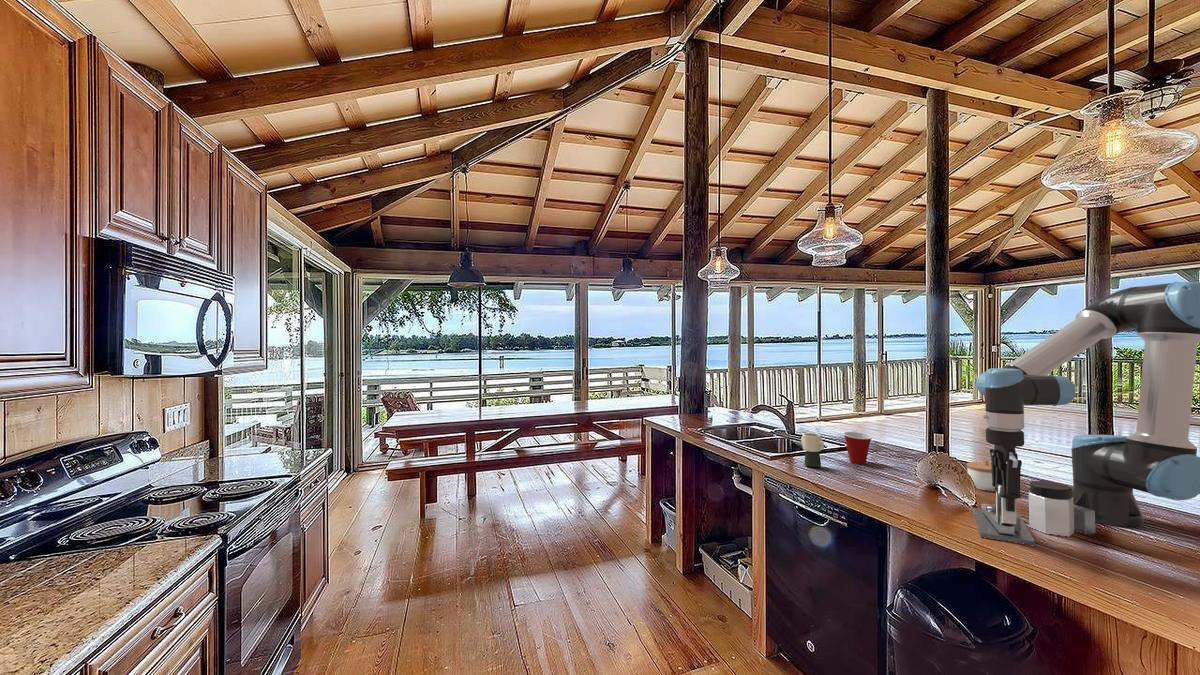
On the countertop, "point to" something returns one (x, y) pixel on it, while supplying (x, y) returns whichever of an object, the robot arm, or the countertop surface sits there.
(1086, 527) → the backstop
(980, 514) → the press base
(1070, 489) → the jar
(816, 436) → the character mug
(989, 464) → the lidded jar
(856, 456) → the plastic cup
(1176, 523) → the countertop surface
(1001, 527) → the lever
